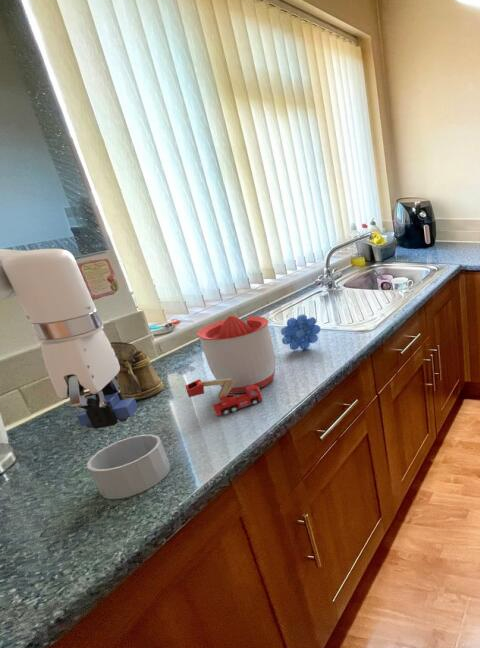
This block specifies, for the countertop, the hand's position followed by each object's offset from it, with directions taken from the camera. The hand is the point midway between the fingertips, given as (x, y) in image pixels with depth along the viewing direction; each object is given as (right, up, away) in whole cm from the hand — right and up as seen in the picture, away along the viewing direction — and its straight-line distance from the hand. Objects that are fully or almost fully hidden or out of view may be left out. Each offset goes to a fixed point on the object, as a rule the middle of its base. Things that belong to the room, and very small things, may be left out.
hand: (111, 418), depth 73 cm
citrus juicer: (0, 0, +39) cm, 39 cm away
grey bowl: (0, -13, +5) cm, 14 cm away
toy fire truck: (+3, -5, +27) cm, 27 cm away
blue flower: (+4, +8, +59) cm, 60 cm away
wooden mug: (-25, -2, +33) cm, 41 cm away
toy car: (0, 0, 0) cm, 0 cm away
